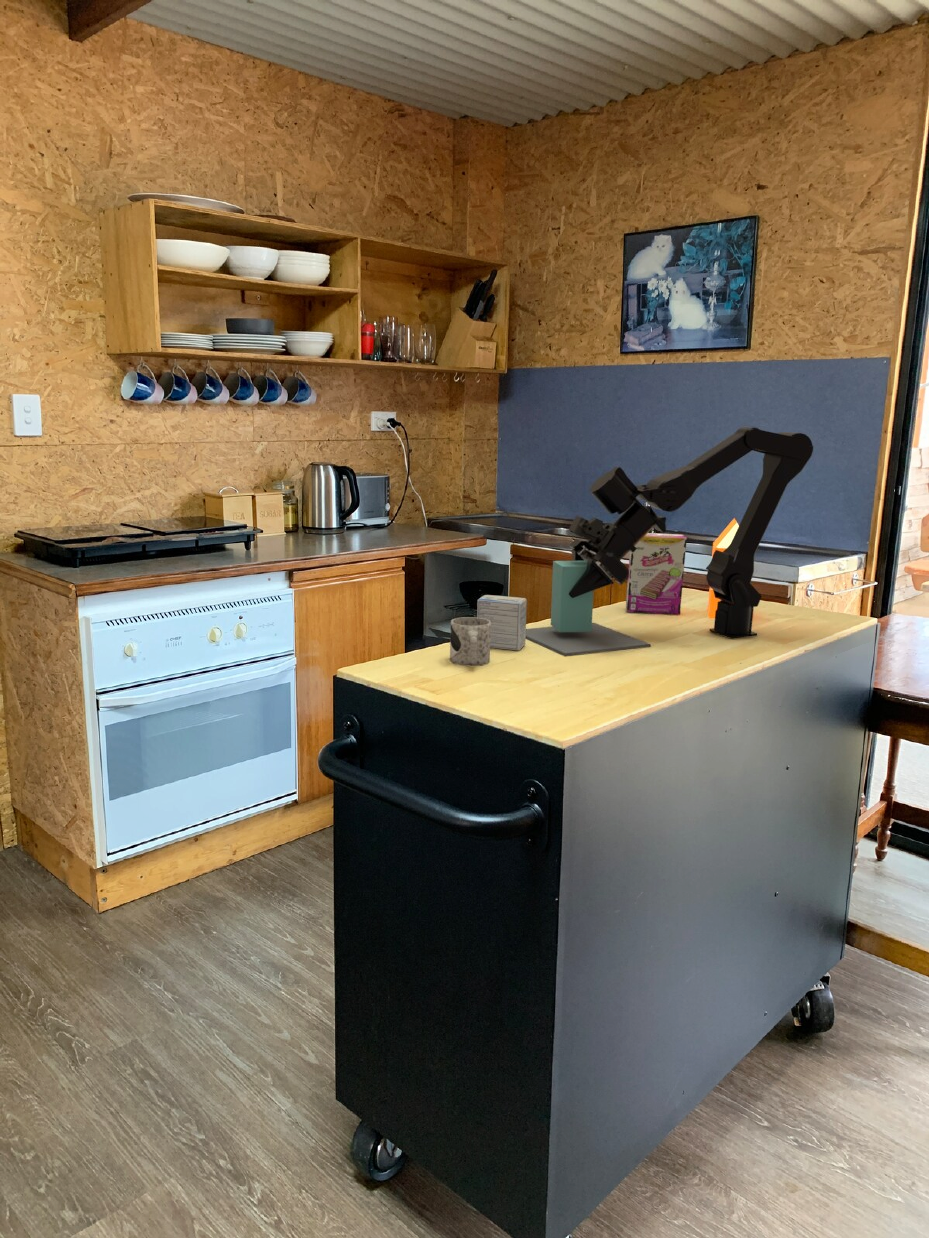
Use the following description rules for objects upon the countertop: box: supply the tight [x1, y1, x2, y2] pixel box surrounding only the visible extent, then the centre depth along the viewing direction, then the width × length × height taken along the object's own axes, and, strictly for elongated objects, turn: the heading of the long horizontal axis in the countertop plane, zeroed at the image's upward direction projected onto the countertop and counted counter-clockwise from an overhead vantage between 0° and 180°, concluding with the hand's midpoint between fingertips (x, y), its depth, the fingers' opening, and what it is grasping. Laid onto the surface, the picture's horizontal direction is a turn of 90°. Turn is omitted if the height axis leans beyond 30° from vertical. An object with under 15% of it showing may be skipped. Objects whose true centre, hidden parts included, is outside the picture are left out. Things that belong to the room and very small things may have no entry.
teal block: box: [550, 560, 594, 632], centre depth 170 cm, size 6×6×12 cm
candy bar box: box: [625, 532, 687, 615], centre depth 194 cm, size 11×5×16 cm, turn 84°
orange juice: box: [707, 517, 740, 620], centre depth 192 cm, size 8×9×20 cm
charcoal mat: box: [526, 622, 651, 657], centre depth 170 cm, size 18×18×1 cm
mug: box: [449, 616, 491, 667], centre depth 152 cm, size 10×7×7 cm, turn 4°
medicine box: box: [476, 594, 528, 651], centre depth 163 cm, size 8×4×9 cm, turn 71°
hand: (565, 592), depth 169 cm, fingers closed on teal block, 6 cm apart
